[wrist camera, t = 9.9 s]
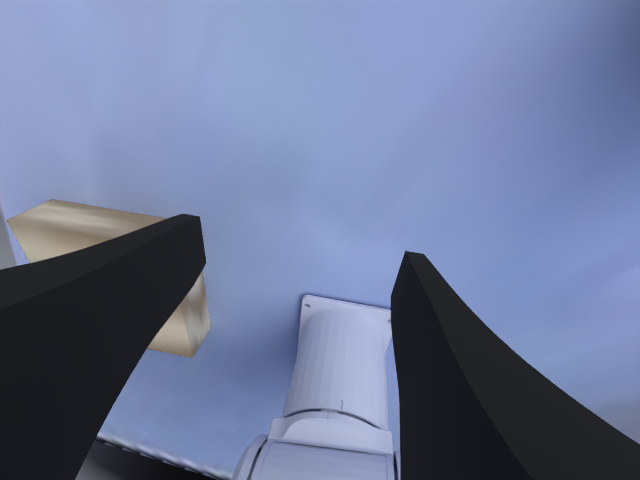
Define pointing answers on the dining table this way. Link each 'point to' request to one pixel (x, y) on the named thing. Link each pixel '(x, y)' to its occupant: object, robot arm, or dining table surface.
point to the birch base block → (98, 226)
